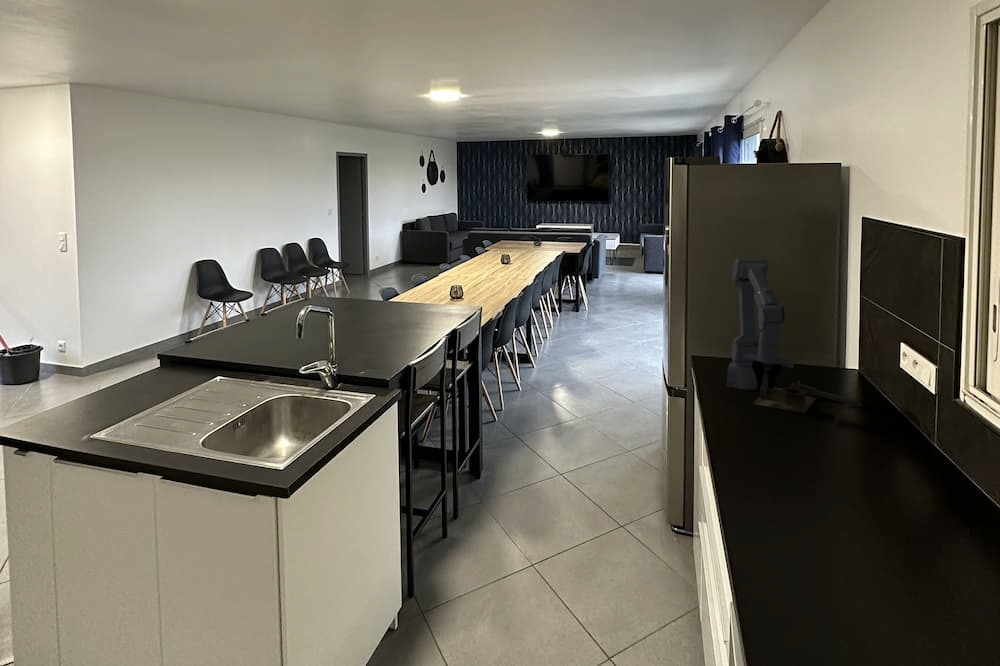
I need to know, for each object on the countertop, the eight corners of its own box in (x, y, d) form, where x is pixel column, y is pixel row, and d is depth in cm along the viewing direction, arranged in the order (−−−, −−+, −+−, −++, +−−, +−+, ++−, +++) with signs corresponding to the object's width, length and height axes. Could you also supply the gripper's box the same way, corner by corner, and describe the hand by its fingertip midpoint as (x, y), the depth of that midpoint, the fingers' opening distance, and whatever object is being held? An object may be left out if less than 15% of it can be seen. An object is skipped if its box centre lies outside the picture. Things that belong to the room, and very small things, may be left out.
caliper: (789, 399, 207) (791, 380, 205) (789, 398, 208) (791, 379, 206) (862, 406, 198) (864, 387, 197) (861, 405, 199) (864, 386, 198)
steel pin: (758, 394, 200) (760, 369, 198) (761, 392, 202) (763, 367, 201) (768, 396, 198) (770, 371, 196) (771, 393, 201) (773, 368, 199)
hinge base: (752, 406, 201) (753, 391, 200) (767, 392, 215) (768, 378, 213) (804, 415, 192) (805, 399, 191) (816, 401, 206) (817, 385, 205)
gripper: (740, 343, 198) (737, 385, 201) (791, 349, 189) (787, 394, 192) (747, 339, 203) (744, 380, 206) (796, 345, 195) (793, 388, 198)
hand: (765, 386), depth 200 cm, fingers closed on steel pin, 3 cm apart
